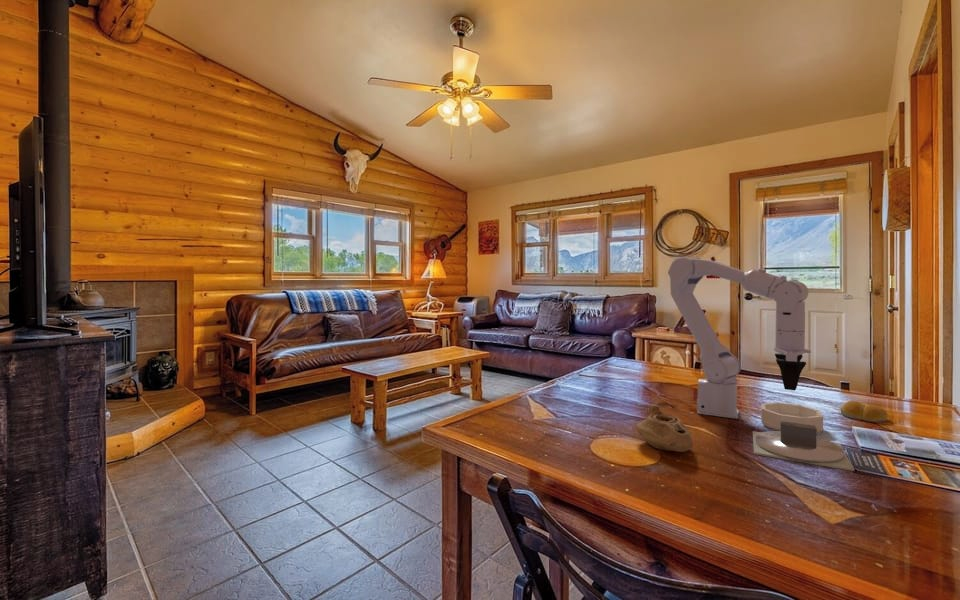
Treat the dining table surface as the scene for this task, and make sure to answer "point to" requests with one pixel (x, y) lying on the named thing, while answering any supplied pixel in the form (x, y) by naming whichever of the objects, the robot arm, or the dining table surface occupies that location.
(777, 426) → the bowl
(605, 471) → the dining table surface
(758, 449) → the mat
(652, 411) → the oil lamp
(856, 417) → the bread roll
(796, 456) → the lid
